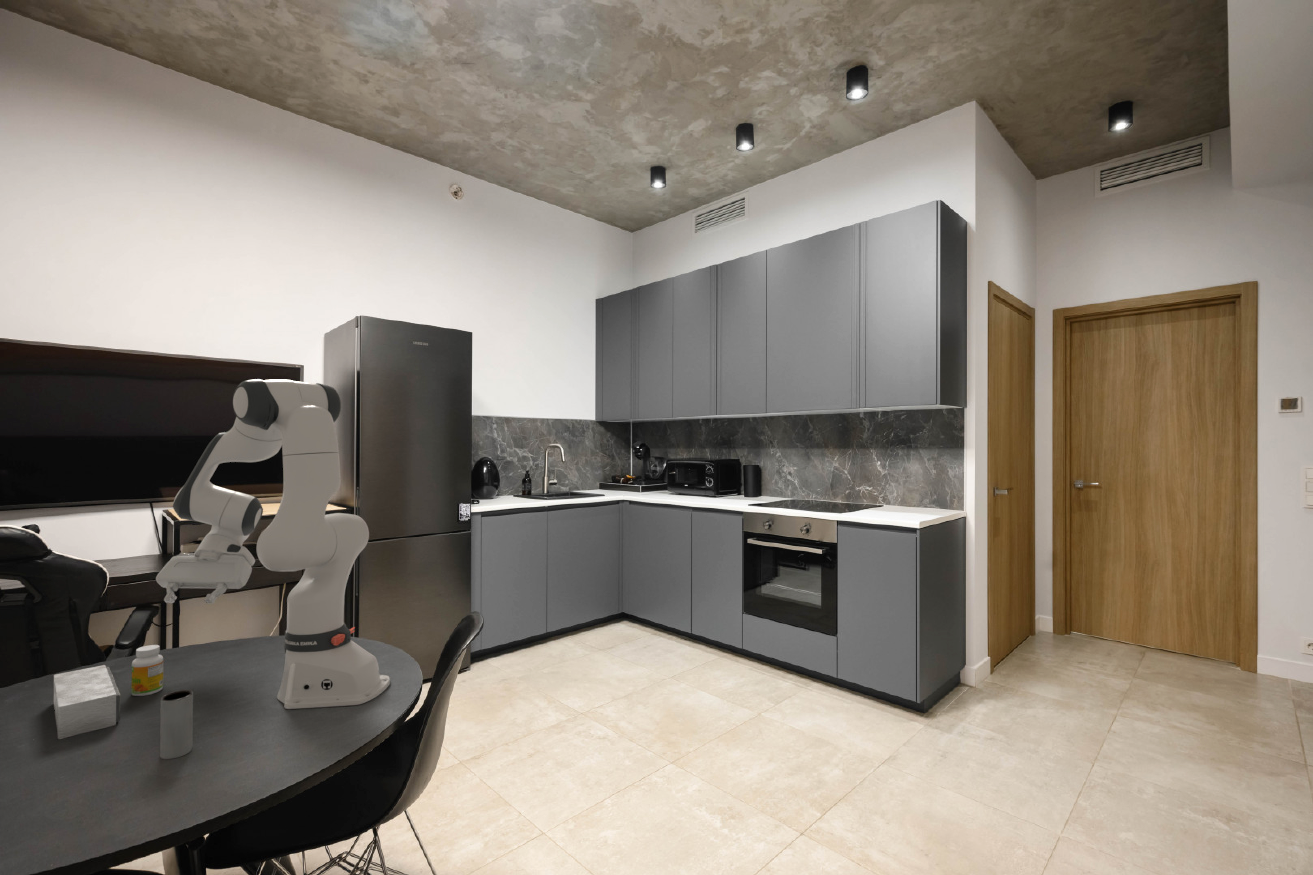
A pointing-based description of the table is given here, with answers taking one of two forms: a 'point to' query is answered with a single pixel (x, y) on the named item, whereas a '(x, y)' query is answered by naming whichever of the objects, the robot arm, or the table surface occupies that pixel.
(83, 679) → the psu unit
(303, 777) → the table surface
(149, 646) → the supplement bottle
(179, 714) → the planter
